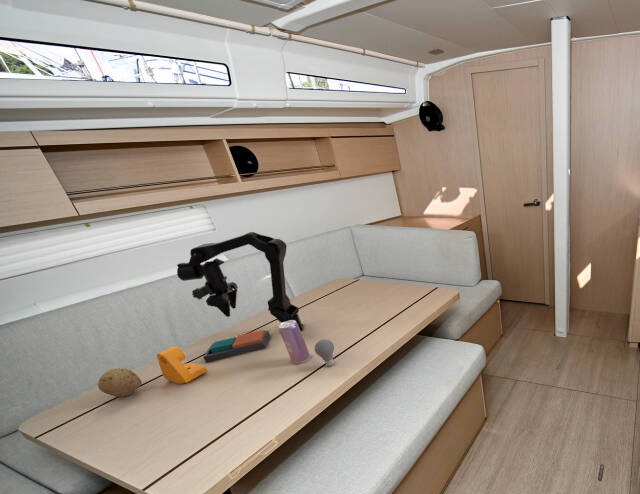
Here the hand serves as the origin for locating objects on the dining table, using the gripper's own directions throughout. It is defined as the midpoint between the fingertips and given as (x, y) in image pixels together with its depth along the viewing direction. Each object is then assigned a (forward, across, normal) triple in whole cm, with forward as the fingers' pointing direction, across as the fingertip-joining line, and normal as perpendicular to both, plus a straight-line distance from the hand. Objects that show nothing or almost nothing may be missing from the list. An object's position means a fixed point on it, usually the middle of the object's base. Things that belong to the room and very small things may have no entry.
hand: (231, 312), depth 144 cm
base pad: (+11, +11, +5) cm, 17 cm away
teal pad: (+11, +11, -3) cm, 16 cm away
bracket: (+12, +25, -12) cm, 30 cm away
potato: (+12, +27, -28) cm, 41 cm away
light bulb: (+12, +45, +35) cm, 58 cm away
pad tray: (+12, +11, +1) cm, 16 cm away
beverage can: (+12, +35, +25) cm, 45 cm away
